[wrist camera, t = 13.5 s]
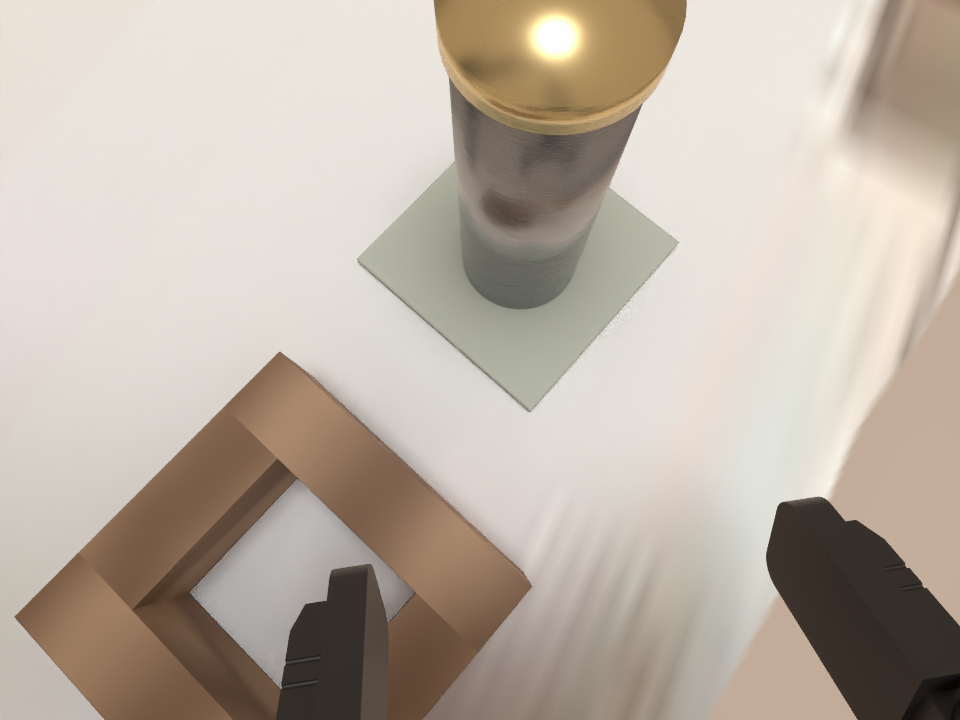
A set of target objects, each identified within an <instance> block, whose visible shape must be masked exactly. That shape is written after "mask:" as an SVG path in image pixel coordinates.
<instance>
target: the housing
mask: <svg viewBox="0 0 960 720" xmlns="http://www.w3.org/2000/svg"><path fill="white" fill-rule="evenodd" d="M297 478H298V479H299V480H300V481H301V482H302V483H303V484H305V485H306V486H307V487H308V488H309V489H310V490H311V491H312V492H313V493H314V494H315V495H316V496H317V497H318V498H319V499H320V500H321V501H322V502H323V503H324V504H325V505H326V506H327V507H328V508H329V509H330V510H331V511H332V512H333V513H334V514H335V515H336V516H338V517H339V518H340V519H341V520H342V521H343V522H344V523H345V524H346V525H347V526H348V527H349V528H350V529H351V530H352V531H353V532H354V533H355V534H356V535H357V536H358V537H359V538H360V539H361V540H362V541H363V542H364V543H365V544H366V545H367V546H368V547H369V548H371V549H372V550H373V551H374V552H375V553H376V554H377V555H378V556H379V557H380V558H381V559H382V560H383V561H384V562H385V563H386V564H387V565H388V566H389V567H390V568H391V569H392V570H393V571H394V572H395V573H396V574H397V575H398V576H399V577H400V578H401V579H402V580H404V581H405V582H406V583H407V584H408V585H409V586H410V587H411V588H412V589H413V590H414V591H415V593H414V594H413V595H412V597H411V598H410V599H409V600H408V601H407V602H406V604H405V605H404V606H403V607H402V608H401V609H400V610H399V612H398V613H397V614H396V615H395V616H394V617H393V619H392V620H391V621H390V622H389V623H388V624H387V625H388V637H389V666H388V720H422V719H423V718H424V717H425V716H426V714H427V713H428V712H429V711H430V710H431V708H432V707H433V706H434V705H435V704H436V702H437V701H438V700H439V699H440V697H441V696H442V695H443V694H444V693H445V691H446V690H447V689H448V688H449V687H450V685H451V684H452V683H453V682H454V681H455V679H456V678H457V677H458V676H459V675H460V673H461V672H462V671H463V670H464V668H465V667H466V666H467V665H468V664H469V662H470V661H471V660H472V659H473V658H474V656H475V655H476V654H477V653H478V652H479V650H480V649H481V648H482V647H483V645H484V644H485V643H486V642H487V641H488V639H489V638H490V637H491V636H492V635H493V633H494V632H495V631H496V630H497V629H498V627H499V626H500V625H501V624H502V622H503V621H504V620H505V619H506V618H507V616H508V615H509V614H510V613H511V612H512V610H513V609H514V608H515V607H516V606H517V604H518V603H519V602H520V601H521V600H522V598H523V597H524V596H525V595H526V593H527V592H528V591H529V590H530V589H531V587H532V585H531V584H530V582H529V580H528V579H527V577H526V576H525V574H524V573H523V572H522V571H521V570H520V569H519V568H518V567H517V566H516V565H515V564H514V563H513V562H511V561H510V560H509V559H508V558H507V557H506V556H505V555H504V554H503V553H502V552H501V551H500V550H499V549H497V548H496V547H495V546H494V545H493V544H492V543H491V542H490V541H489V540H488V539H487V538H486V537H485V536H483V535H482V534H481V533H480V532H479V531H478V530H477V529H476V528H475V527H474V526H473V525H472V524H471V523H469V522H468V521H467V520H466V519H465V518H464V517H463V516H462V515H461V514H460V513H459V512H458V511H457V510H455V509H454V508H453V507H452V506H451V505H450V504H449V503H448V502H447V501H446V500H445V499H444V498H443V497H441V496H440V495H439V494H438V493H437V492H436V491H435V490H434V489H433V488H432V487H431V486H430V485H429V484H427V483H426V482H425V481H424V480H423V479H422V478H421V477H420V476H419V475H418V474H417V473H416V472H415V471H413V470H412V469H411V468H410V467H409V466H408V465H407V464H406V463H405V462H404V461H403V460H402V459H401V458H399V457H398V456H397V455H396V454H395V453H394V452H393V451H392V450H391V449H390V448H389V447H388V446H387V445H385V444H384V443H383V442H382V441H381V440H380V439H379V438H378V437H377V436H376V435H375V434H374V433H373V432H371V431H370V430H369V429H368V428H367V427H366V426H365V425H364V424H363V423H362V422H361V421H360V420H359V419H357V418H356V417H355V416H354V415H353V414H352V413H351V412H350V411H349V410H348V409H347V408H346V407H345V406H343V405H342V404H341V403H340V402H339V401H338V400H337V399H336V398H335V397H334V396H333V395H332V394H331V393H329V392H328V391H327V390H326V389H325V388H324V387H323V386H322V385H321V384H320V383H319V382H318V381H317V380H315V379H314V378H313V377H312V376H311V375H310V374H309V373H307V372H306V371H305V370H303V369H302V368H301V367H300V366H298V365H297V364H296V363H294V362H293V361H292V360H290V359H289V358H288V357H286V356H285V355H284V354H282V353H281V352H279V353H278V354H277V355H276V356H275V357H274V358H273V359H272V360H271V361H270V362H269V363H268V364H267V365H266V366H265V367H264V368H263V369H262V370H261V371H260V372H259V373H258V374H257V375H256V376H255V377H254V378H253V379H252V380H251V381H250V382H249V383H248V384H247V385H246V386H245V387H244V388H243V389H242V390H241V391H240V392H239V393H238V394H237V395H236V396H235V397H234V398H233V399H232V400H231V401H230V402H229V403H228V404H227V405H226V406H225V407H224V408H223V409H222V410H221V411H220V412H219V413H218V414H217V415H216V416H215V417H214V418H213V419H212V420H211V421H210V422H209V423H208V424H207V425H206V426H205V427H204V428H203V429H202V430H201V431H200V432H199V433H198V434H197V435H196V436H195V437H194V438H193V439H192V440H191V441H190V442H189V443H188V444H187V445H186V446H185V447H184V448H183V449H182V450H181V451H180V452H179V453H178V454H177V455H176V456H175V457H174V458H173V459H172V460H171V461H170V462H169V463H168V464H167V465H166V466H165V467H164V468H163V469H162V470H161V471H160V472H159V473H158V474H157V475H156V476H155V477H154V478H153V479H152V480H151V481H150V482H149V483H148V484H147V485H146V486H145V487H144V488H143V489H142V490H141V491H140V492H139V493H138V494H137V495H136V496H135V497H134V498H133V499H132V500H131V501H130V502H129V503H128V504H127V505H126V506H125V507H124V508H123V509H122V510H121V511H120V512H119V513H118V514H117V515H116V516H115V517H114V518H113V519H112V520H111V521H110V522H109V523H108V524H107V525H106V526H105V527H104V528H103V529H102V530H101V531H100V532H99V533H98V534H97V535H96V536H95V537H94V538H93V539H92V540H91V541H90V542H89V543H88V544H87V545H86V546H85V547H84V548H83V549H82V550H81V551H80V552H79V553H78V554H77V555H76V556H75V557H74V558H73V559H72V560H71V561H70V562H69V563H68V564H67V565H66V566H65V567H64V568H63V569H62V570H61V571H60V572H59V573H58V574H57V575H56V576H55V577H54V578H53V579H52V580H51V581H50V582H49V583H48V584H47V585H46V586H45V587H44V588H43V589H42V590H41V591H40V592H39V593H38V594H37V595H36V596H35V597H34V598H33V599H32V600H31V601H30V602H29V603H28V604H27V605H26V606H25V607H24V608H23V609H22V610H21V611H20V612H19V613H18V614H17V615H16V616H15V618H16V620H17V621H18V622H19V623H20V624H21V625H22V626H23V627H24V629H25V630H26V631H27V632H28V633H29V634H30V635H31V637H32V638H33V639H34V640H35V641H36V642H37V643H38V644H39V646H40V647H41V648H42V649H43V650H44V651H45V652H46V654H47V655H48V656H49V657H50V658H51V659H52V660H53V661H54V663H55V664H56V665H57V666H58V667H59V668H60V669H61V671H62V672H63V673H64V674H65V675H66V676H67V677H68V679H69V680H70V681H71V682H72V683H73V684H74V685H75V686H76V688H77V689H78V690H79V691H80V692H81V693H82V694H83V696H84V697H85V698H86V699H87V700H88V701H89V702H90V703H91V705H92V706H93V707H94V708H95V709H96V710H97V711H98V713H99V714H100V715H101V716H102V717H103V718H104V719H105V720H276V715H277V709H278V703H279V696H280V691H281V689H280V688H279V687H278V686H277V685H276V684H275V683H274V682H273V681H272V680H271V679H270V678H269V677H268V676H267V675H266V674H265V673H264V672H263V670H262V669H261V668H260V667H259V666H258V665H257V664H256V663H255V662H254V661H253V660H252V659H251V658H250V657H249V656H248V655H247V654H246V653H245V652H244V650H243V649H242V648H241V647H240V646H239V645H238V644H237V643H236V642H235V641H234V640H233V639H232V638H231V637H230V636H229V635H228V634H227V633H226V632H225V631H224V629H223V628H222V627H221V626H220V625H219V624H218V623H217V622H216V621H215V620H214V619H213V618H212V617H211V616H210V615H209V614H208V613H207V612H206V611H205V609H204V608H203V607H202V606H201V605H200V604H199V603H198V602H197V601H196V600H195V599H194V598H193V597H192V596H191V595H190V594H189V592H190V591H191V590H192V589H193V588H194V586H195V585H196V584H197V583H198V582H199V581H200V580H201V579H202V578H203V577H204V576H205V575H206V574H207V573H208V572H209V571H210V570H211V569H212V567H213V566H214V565H215V564H216V563H217V562H218V561H219V560H220V559H221V558H222V557H223V556H224V555H225V554H226V553H227V552H228V551H229V549H230V548H231V547H232V546H233V545H234V544H235V543H236V542H237V541H238V540H239V539H240V538H241V537H242V536H243V535H244V534H245V533H246V532H247V530H248V529H249V528H250V527H251V526H252V525H253V524H254V523H255V522H256V521H257V520H258V519H259V518H260V517H261V516H262V515H263V514H264V512H265V511H266V510H267V509H268V508H269V507H270V506H271V505H272V504H273V503H274V502H275V501H276V500H277V499H278V498H279V497H280V496H281V495H282V493H283V492H284V491H285V490H286V489H287V488H288V487H289V486H290V485H291V484H292V483H293V482H294V481H295V480H296V479H297Z"/></svg>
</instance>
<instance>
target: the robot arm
mask: <svg viewBox="0 0 960 720" xmlns="http://www.w3.org/2000/svg"><path fill="white" fill-rule="evenodd" d="M766 561H767V567H768V571H769V574H770V577H771V580H772V582H773V584H774V585H775V587H776V589H777V590H778V592H779V594H780V595H781V597H782V598H783V600H784V602H785V603H786V605H787V607H788V608H789V610H790V611H791V613H792V615H793V616H794V618H795V619H796V621H797V623H798V624H799V626H800V627H801V629H802V631H803V632H804V634H805V636H806V637H807V639H808V640H809V642H810V644H811V645H812V647H813V648H814V650H815V652H816V653H817V655H818V656H819V658H820V660H821V661H822V663H823V665H824V666H825V668H826V669H827V671H828V672H829V674H830V676H831V677H832V679H833V681H834V682H835V684H836V686H837V687H838V689H839V690H840V692H841V694H842V695H843V697H844V698H845V700H846V702H847V703H848V705H849V706H850V708H851V710H852V711H853V713H854V714H855V716H856V718H857V719H858V720H960V626H959V625H958V624H957V622H956V621H955V620H954V619H953V618H952V617H951V616H950V614H949V613H948V612H947V611H946V610H945V609H944V608H943V606H942V605H941V604H940V603H939V602H938V601H937V599H936V598H935V597H934V596H933V595H932V594H931V593H930V591H929V590H928V589H927V588H924V587H923V586H922V582H921V581H920V580H919V579H918V577H917V576H916V575H915V574H914V573H913V572H912V571H911V569H910V568H906V566H905V562H904V561H903V560H902V559H901V558H900V557H899V556H898V554H897V553H896V552H895V551H894V550H893V549H892V548H891V546H890V545H889V544H888V543H887V542H886V541H885V539H883V538H882V537H880V536H879V535H877V534H876V533H874V532H873V531H871V530H870V529H868V528H867V527H866V526H864V525H863V524H861V523H860V522H858V521H857V520H853V521H847V522H845V521H844V519H843V518H842V517H841V516H840V514H839V513H838V512H837V511H836V510H835V508H834V507H833V506H832V505H831V504H830V502H829V501H827V500H826V499H824V498H823V497H813V498H806V499H800V500H793V501H787V502H782V503H780V504H779V506H778V508H777V511H776V515H775V519H774V523H773V528H772V532H771V536H770V540H769V544H768V548H767V553H766ZM285 661H286V666H284V672H283V678H282V684H281V685H282V690H281V691H280V696H279V703H278V709H277V715H276V720H388V666H389V637H388V625H387V618H386V612H385V609H384V605H383V601H382V598H381V594H380V591H379V587H378V584H377V580H376V576H375V573H374V569H373V567H372V565H371V564H366V565H360V566H353V567H347V568H340V569H334V570H332V571H331V574H330V578H329V587H328V596H327V601H322V602H316V603H309V604H305V606H304V608H303V609H302V611H301V613H300V615H299V617H298V618H297V620H296V622H295V624H294V625H293V627H292V629H291V631H290V635H289V641H288V648H287V654H286V660H285Z"/></svg>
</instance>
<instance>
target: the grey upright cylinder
mask: <svg viewBox="0 0 960 720" xmlns="http://www.w3.org/2000/svg"><path fill="white" fill-rule="evenodd" d="M686 5H687V2H686V0H434V7H435V18H436V29H437V39H438V47H439V52H440V55H441V59H442V63H443V65H444V67H445V69H446V71H447V74H448V76H449V84H450V98H451V111H452V125H453V138H454V152H455V165H456V179H457V192H458V206H459V219H460V233H461V246H462V259H463V266H464V270H465V273H466V275H467V277H468V279H469V281H470V283H471V284H472V286H473V287H474V288H475V290H476V291H477V292H478V293H479V294H480V295H482V296H483V297H484V298H486V299H487V300H489V301H490V302H492V303H494V304H496V305H499V306H501V307H505V308H510V309H531V308H535V307H539V306H542V305H544V304H546V303H548V302H550V301H552V300H553V299H555V298H556V297H557V296H559V295H560V294H561V293H562V292H563V291H564V290H565V288H566V287H567V286H568V284H569V282H570V281H571V279H572V277H573V274H574V272H575V269H576V267H577V264H578V262H579V259H580V257H581V255H582V252H583V250H584V247H585V245H586V242H587V240H588V237H589V235H590V232H591V230H592V227H593V225H594V222H595V220H596V217H597V215H598V213H599V210H600V208H601V205H602V203H603V200H604V198H605V195H606V193H607V190H608V188H609V185H610V183H611V180H612V178H613V176H614V173H615V171H616V168H617V166H618V163H619V161H620V158H621V156H622V153H623V151H624V148H625V146H626V143H627V141H628V138H629V136H630V134H631V131H632V129H633V126H634V124H635V121H636V119H637V116H638V114H639V111H640V109H641V106H642V104H643V103H644V102H645V101H646V100H647V99H648V97H649V96H650V95H651V94H652V93H653V91H654V90H655V89H656V87H657V86H658V84H659V83H660V81H661V79H662V78H663V76H664V73H665V71H666V68H667V66H668V64H669V61H670V59H671V57H672V54H673V52H674V50H675V47H676V45H677V43H678V40H679V38H680V35H681V33H682V30H683V26H684V22H685V18H686Z"/></svg>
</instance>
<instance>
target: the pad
mask: <svg viewBox="0 0 960 720" xmlns="http://www.w3.org/2000/svg"><path fill="white" fill-rule="evenodd" d="M678 243H679V242H678V241H677V240H676V239H674V238H673V237H672V236H671V235H669V234H668V233H667V232H665V231H664V230H663V229H662V228H660V227H659V226H658V225H656V224H655V223H654V222H653V221H651V220H650V219H649V218H647V217H646V216H645V215H644V214H642V213H641V212H640V211H638V210H637V209H636V208H635V207H633V206H632V205H631V204H629V203H628V202H627V201H626V200H624V199H623V198H622V197H620V196H619V195H618V194H617V193H615V192H614V191H613V190H611V189H610V188H608V190H607V193H606V195H605V198H604V200H603V203H602V205H601V208H600V210H599V213H598V215H597V217H596V220H595V222H594V225H593V227H592V230H591V232H590V235H589V237H588V240H587V242H586V245H585V247H584V250H583V252H582V255H581V257H580V259H579V262H578V264H577V267H576V269H575V272H574V274H573V277H572V279H571V281H570V282H569V284H568V286H567V287H566V288H565V290H564V291H563V292H562V293H561V294H560V295H559V296H557V297H556V298H555V299H553V300H552V301H550V302H548V303H546V304H544V305H542V306H539V307H535V308H531V309H510V308H505V307H501V306H499V305H496V304H494V303H492V302H490V301H489V300H487V299H486V298H484V297H483V296H482V295H480V294H479V293H478V292H477V291H476V290H475V288H474V287H473V286H472V284H471V283H470V281H469V279H468V277H467V275H466V273H465V270H464V266H463V259H462V246H461V233H460V219H459V206H458V192H457V179H456V165H455V162H454V163H453V164H452V165H451V166H450V167H449V168H448V169H447V170H446V171H445V172H444V173H443V174H442V175H441V176H440V177H439V178H438V179H437V180H436V181H435V182H434V183H433V184H432V185H431V186H430V187H429V188H428V189H427V190H426V191H425V192H424V193H423V194H422V195H421V196H420V197H419V198H418V199H417V200H416V201H415V202H414V203H413V204H412V205H411V206H410V207H409V208H408V209H407V210H406V211H405V212H404V213H403V214H402V215H401V216H400V217H399V218H398V219H397V220H396V221H395V222H394V223H393V224H392V225H391V226H390V227H389V228H388V229H387V230H386V231H385V232H384V233H383V234H382V235H381V236H380V237H378V238H377V239H376V240H375V241H374V242H373V243H372V244H371V245H370V246H369V247H368V248H367V249H366V250H365V251H364V252H363V253H362V254H361V255H360V256H359V257H358V258H357V260H358V262H359V263H360V264H361V265H362V266H363V267H364V268H366V269H367V270H368V271H369V272H370V273H371V274H372V275H374V276H375V277H376V278H377V279H378V280H379V281H380V282H382V283H383V284H384V285H385V286H386V287H387V288H388V289H390V290H391V291H392V292H393V293H394V294H395V295H397V296H398V297H399V298H400V299H401V300H402V301H403V302H405V303H406V304H407V305H408V306H409V307H410V308H411V309H413V310H414V311H415V312H416V313H417V314H418V315H419V316H421V317H422V318H423V319H424V320H425V321H426V322H427V323H429V324H430V325H431V326H432V327H433V328H434V329H435V330H437V331H438V332H439V333H440V334H441V335H442V336H443V337H445V338H446V339H447V340H448V341H449V342H450V343H451V344H453V345H454V346H455V347H456V348H457V349H458V350H459V351H461V352H462V353H463V354H464V355H465V356H466V357H468V358H469V359H470V360H471V361H472V362H473V363H474V364H476V365H477V366H478V367H479V368H480V369H481V370H482V371H484V372H485V373H486V374H487V375H488V376H489V377H490V378H492V379H493V380H494V381H495V382H496V383H497V384H498V385H500V386H501V387H502V388H503V389H504V390H505V391H506V392H508V393H509V394H510V395H511V396H512V397H513V398H514V399H516V400H517V401H518V402H519V403H520V404H521V405H522V406H524V407H525V408H526V409H527V410H528V411H529V412H530V411H531V410H532V409H533V408H534V407H535V405H536V404H537V403H538V402H539V401H540V400H541V399H542V397H543V396H544V395H545V394H546V393H547V392H548V391H549V390H550V388H551V387H552V386H553V385H554V384H555V383H556V382H557V380H558V379H559V378H560V377H561V376H562V375H563V374H564V373H565V371H566V370H567V369H568V368H569V367H570V366H571V365H572V363H573V362H574V361H575V360H576V359H577V358H578V357H579V356H580V354H581V353H582V352H583V351H584V350H585V349H586V348H587V346H588V345H589V344H590V343H591V342H592V341H593V340H594V339H595V337H596V336H597V335H598V334H599V333H600V332H601V331H602V329H603V328H604V327H605V326H606V325H607V324H608V323H609V322H610V320H611V319H612V318H613V317H614V316H615V315H616V314H617V312H618V311H619V310H620V309H621V308H622V307H623V306H624V305H625V303H626V302H627V301H628V300H629V299H630V298H631V297H632V295H633V294H634V293H635V292H636V291H637V290H638V289H639V287H640V286H641V285H642V284H643V283H644V282H645V281H646V280H647V278H648V277H649V276H650V275H651V274H652V273H653V272H654V270H655V269H656V268H657V267H658V266H659V265H660V264H661V263H662V261H663V260H664V259H665V258H666V257H667V256H668V255H669V253H670V252H671V251H672V250H673V249H674V248H675V247H676V245H677V244H678Z"/></svg>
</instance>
